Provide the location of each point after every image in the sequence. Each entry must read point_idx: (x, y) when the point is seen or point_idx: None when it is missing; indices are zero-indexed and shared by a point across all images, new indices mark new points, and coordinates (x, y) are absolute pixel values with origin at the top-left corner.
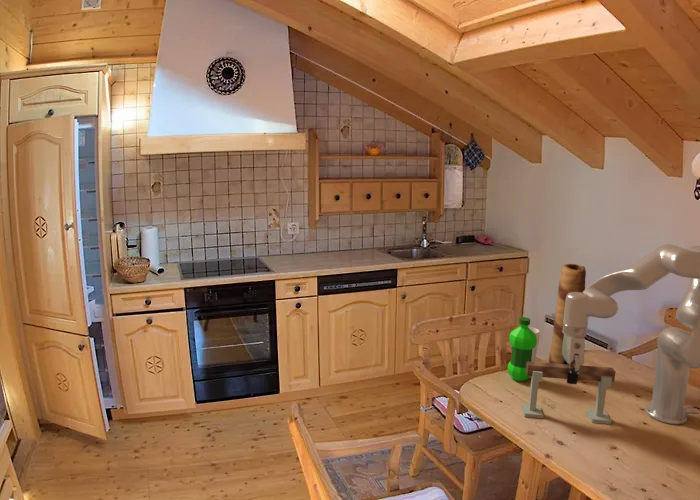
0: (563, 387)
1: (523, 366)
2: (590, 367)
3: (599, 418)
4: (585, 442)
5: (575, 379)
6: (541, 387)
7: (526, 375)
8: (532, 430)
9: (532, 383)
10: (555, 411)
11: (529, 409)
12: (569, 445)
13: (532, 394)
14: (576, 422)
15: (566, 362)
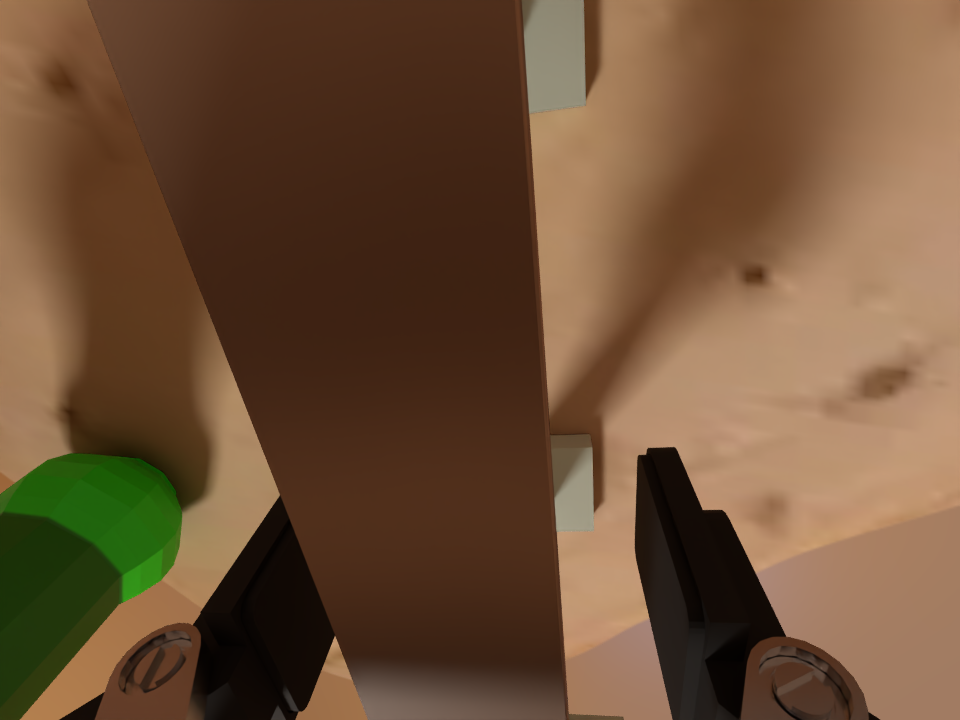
0: (93, 247)
1: (102, 570)
2: (328, 295)
3: (559, 30)
4: (895, 215)
5: (741, 549)
6: (183, 388)
7: (149, 505)
8: (741, 499)
9: None
10: None
11: None
12: (926, 332)
13: None
14: (604, 234)
15: (259, 707)
